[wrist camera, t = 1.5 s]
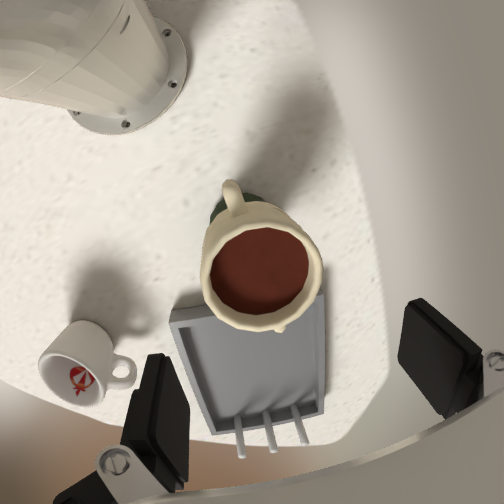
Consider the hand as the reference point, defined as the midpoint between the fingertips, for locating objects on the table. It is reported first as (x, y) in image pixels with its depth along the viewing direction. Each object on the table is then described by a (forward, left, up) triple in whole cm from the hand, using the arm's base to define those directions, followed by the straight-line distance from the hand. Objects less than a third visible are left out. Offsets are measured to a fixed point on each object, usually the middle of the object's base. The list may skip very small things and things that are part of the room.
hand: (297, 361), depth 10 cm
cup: (+11, -19, -20) cm, 30 cm away
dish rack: (+18, -1, -20) cm, 26 cm away
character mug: (0, 0, -20) cm, 20 cm away
